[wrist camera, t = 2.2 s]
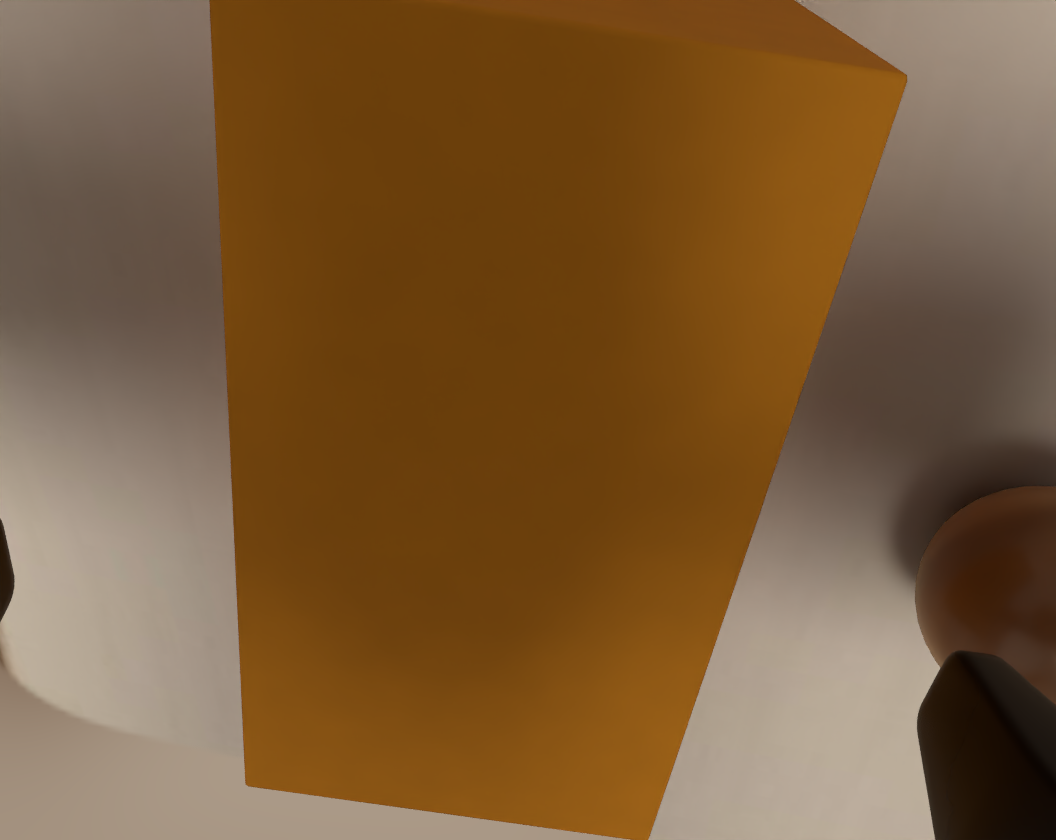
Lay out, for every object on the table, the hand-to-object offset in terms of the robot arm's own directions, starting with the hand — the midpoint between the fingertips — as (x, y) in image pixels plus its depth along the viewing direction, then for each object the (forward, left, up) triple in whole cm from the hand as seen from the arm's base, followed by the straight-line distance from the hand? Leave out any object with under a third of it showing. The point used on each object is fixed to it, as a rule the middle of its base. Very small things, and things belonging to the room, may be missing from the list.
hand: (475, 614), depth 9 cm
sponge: (0, 0, -6) cm, 6 cm away
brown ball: (-2, -9, -4) cm, 10 cm away
